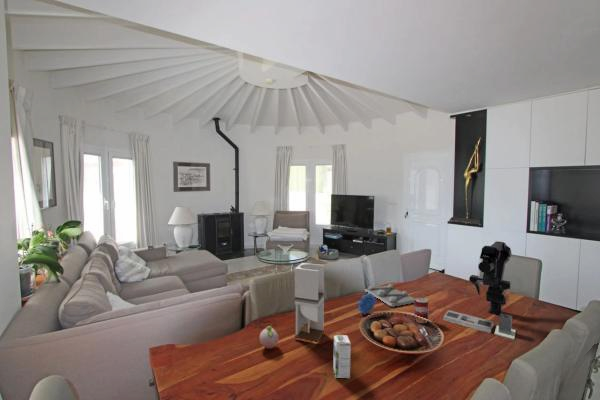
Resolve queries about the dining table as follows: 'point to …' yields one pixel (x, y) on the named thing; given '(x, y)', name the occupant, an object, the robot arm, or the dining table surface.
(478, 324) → the rail plate
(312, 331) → the white dispenser tower
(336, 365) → the syrup box
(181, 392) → the dining table surface
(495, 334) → the sage pad
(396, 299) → the grey ridged tray
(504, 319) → the steel block
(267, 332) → the decorative fruit
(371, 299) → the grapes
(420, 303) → the soda can
